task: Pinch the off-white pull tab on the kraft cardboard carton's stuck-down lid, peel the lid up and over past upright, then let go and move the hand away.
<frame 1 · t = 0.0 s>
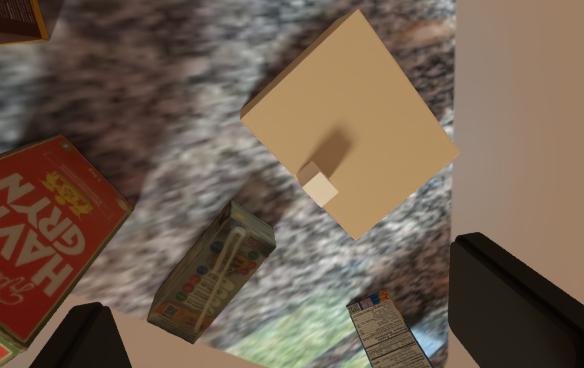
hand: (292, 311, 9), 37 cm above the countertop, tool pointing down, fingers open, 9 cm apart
beverage box: (374, 320, 58), on the countertop
beverage carton: (214, 259, 51), on the countertop
carton: (336, 125, 46), on the countertop
carton lid: (362, 141, 36), point 11 cm above the countertop, hinge at 0.0°
food packaging: (74, 191, 45), on the countertop
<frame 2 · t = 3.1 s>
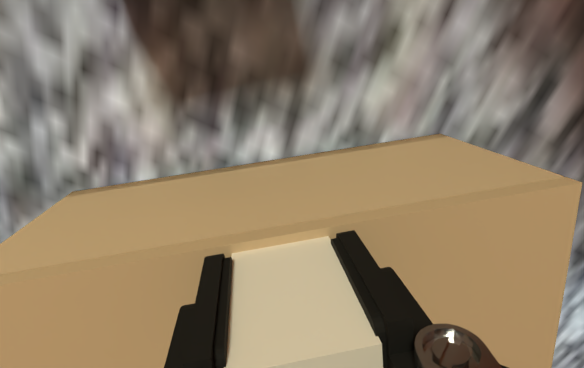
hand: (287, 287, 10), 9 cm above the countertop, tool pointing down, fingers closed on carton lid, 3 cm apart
carton: (283, 285, 21), on the countertop
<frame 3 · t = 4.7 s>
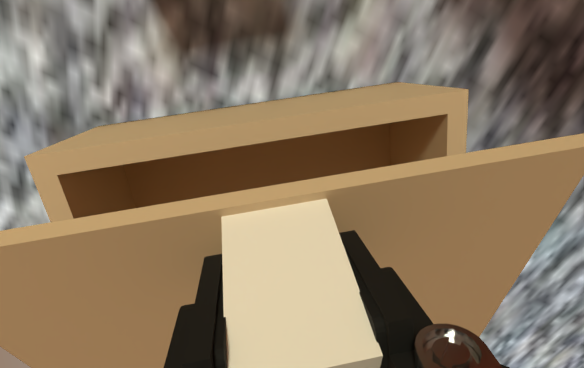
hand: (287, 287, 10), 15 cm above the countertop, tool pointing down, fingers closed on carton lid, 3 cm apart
carton: (271, 212, 26), on the countertop
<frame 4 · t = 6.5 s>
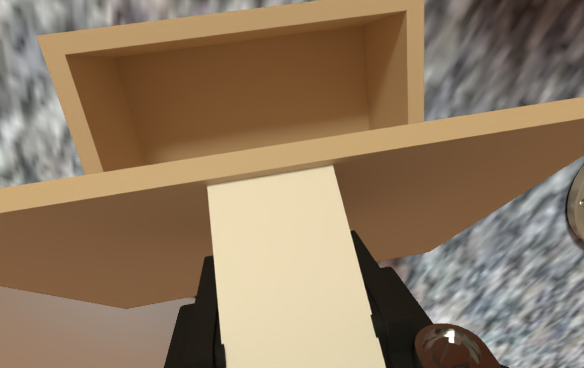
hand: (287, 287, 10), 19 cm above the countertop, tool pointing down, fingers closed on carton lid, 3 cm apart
carton: (258, 134, 28), on the countertop
carton lid: (287, 295, 14), point 16 cm above the countertop, hinge at 46.5°, touching gripper
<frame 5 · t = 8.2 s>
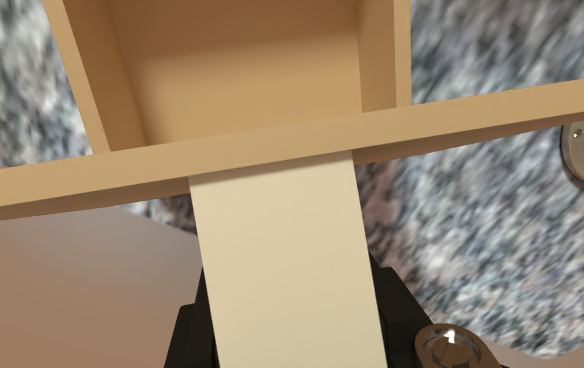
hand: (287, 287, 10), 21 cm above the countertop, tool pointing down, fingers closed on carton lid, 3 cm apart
carton: (244, 52, 27), on the countertop
carton lid: (275, 222, 14), point 17 cm above the countertop, hinge at 70.5°, touching gripper
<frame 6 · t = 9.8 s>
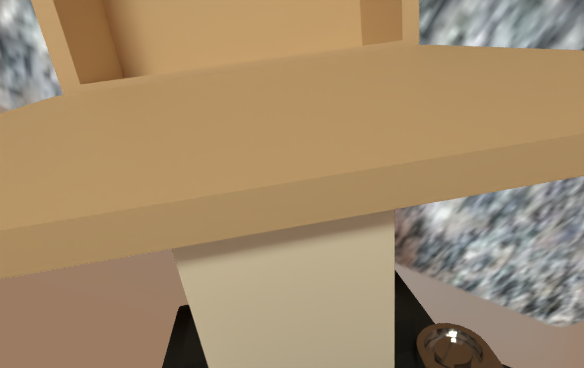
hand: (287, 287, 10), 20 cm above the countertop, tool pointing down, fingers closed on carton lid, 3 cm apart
carton lid: (265, 160, 12), point 17 cm above the countertop, hinge at 94.1°, touching gripper
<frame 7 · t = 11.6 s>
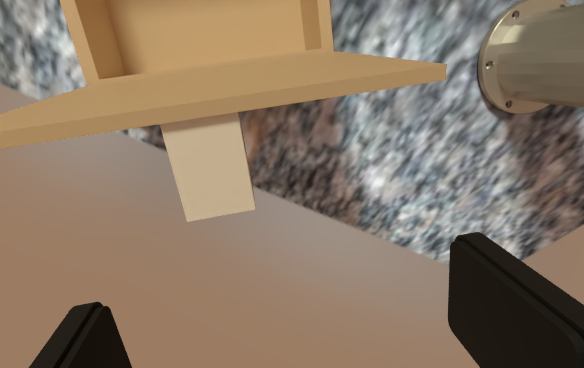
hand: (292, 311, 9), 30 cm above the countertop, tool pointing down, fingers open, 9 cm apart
carton lid: (216, 121, 21), point 17 cm above the countertop, hinge at 94.2°
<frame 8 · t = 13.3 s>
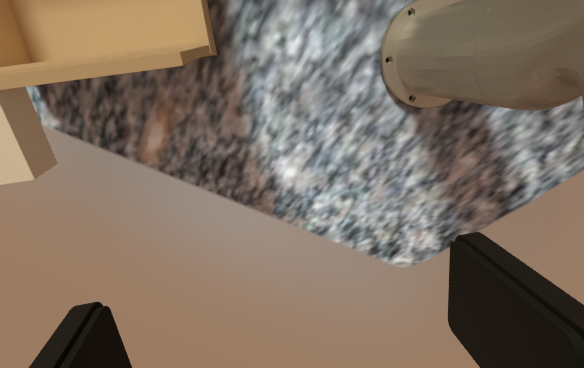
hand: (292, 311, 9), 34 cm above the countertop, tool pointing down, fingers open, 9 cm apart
carton lid: (57, 106, 23), point 17 cm above the countertop, hinge at 94.2°
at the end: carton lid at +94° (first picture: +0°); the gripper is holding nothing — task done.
